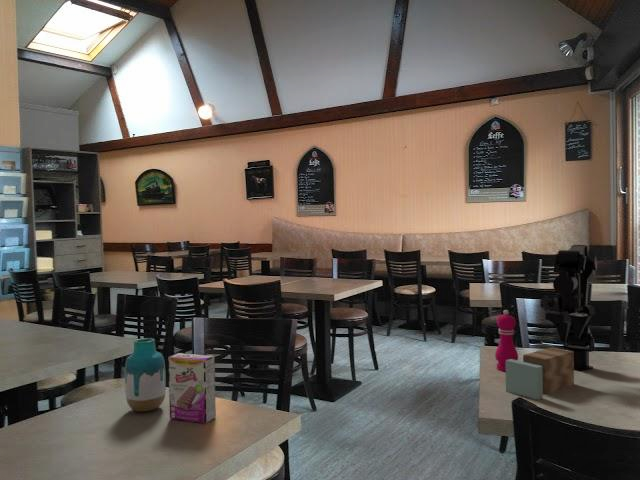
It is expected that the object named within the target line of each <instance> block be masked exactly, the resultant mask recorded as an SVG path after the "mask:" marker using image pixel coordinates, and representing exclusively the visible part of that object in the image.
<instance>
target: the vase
mask: <svg viewBox="0 0 640 480" xmlns="http://www.w3.org/2000/svg"><path fill="white" fill-rule="evenodd" d="M165 362H166V361H165V358H164V356H163V354H162V353H161V352H159V351H157V349H156V342H155V338H152V337H145V338H143V337H142V338H137V339H135V340H134V341H133V351H132V354H130V355H129V356H128V357H126V359H125V364H124V390H125V398H126V399H125V400H126V403H127V405H128V407H129V409H131V410H133V411H136V412H142V413H143V412H150V411H153V410H154V411H155V409H158V408H159V407H161V405H163V402H164V401H165V399H166V398H165V397H166V390H167V389H166V387H167V380H166V379H167V376H166V374H167V373H166V363H165Z"/></svg>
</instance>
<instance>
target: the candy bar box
mask: <svg viewBox="0 0 640 480" xmlns="http://www.w3.org/2000/svg"><path fill="white" fill-rule="evenodd" d="M167 359H168V363H167V364H168V390H169V391H168V392H169V393H168V394H169V395H168V397H169V401H168V402H169V419H170V420H174V419H176V420H175V421H181V420H182V421H183V422H189V421H190V422H191V423H197V422H198V423H199V424H209V423H210V422H212V420H214V419H215V418H216V417H217V415H216V414H217V411H216V406H217V405H216V377H215V376H216V375H215V374H216V372H215V371H216V369H215V368H216V366H215V365H216V364H215V361H216V360H215V356H214V355H209V354H208V355H207V354H206V355H205V354H193V353H184V352H183V353H182V352H178V353H175V354H172V355H170V356H168V358H167ZM182 421H181V422H182ZM209 421H210V422H209ZM208 422H209V423H208Z"/></svg>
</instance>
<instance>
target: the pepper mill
mask: <svg viewBox="0 0 640 480" xmlns="http://www.w3.org/2000/svg"><path fill="white" fill-rule="evenodd" d="M496 324H497V327H498V334H499V344H498V346H497V348H496V350H495V354H494V357H495V359H496V361H497V362H496V370H498V371H500V372H505V373H506V360H509V359H513V360H517V361H519V354H518V351H517V349H516V346H515V344H514V339H513V338H514V334H515V329H514V328H515V327H516V326H517V325H516V324H517V323H516V319H515V317H514V316H513V315H510V311H509V310H508V309H504V310H503V314H501V315H500V314H499V316H498V317H497V319H496Z"/></svg>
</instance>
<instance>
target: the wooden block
mask: <svg viewBox="0 0 640 480" xmlns="http://www.w3.org/2000/svg"><path fill="white" fill-rule="evenodd" d="M522 357H523V358H522V362H526V363H531V364H535V365H540V366H542V380H543V393H544V394H543V395H548V394H550V393H553V392H555V391H558V389H559V390H562V389H564V388H567V387H570V386H572V385H574V384H575V369H574V351H569V350H568V349H564V348H557V347H548V348H544V349H540V350H537V351H532V352H530V353H525V354H523V355H522Z"/></svg>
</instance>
